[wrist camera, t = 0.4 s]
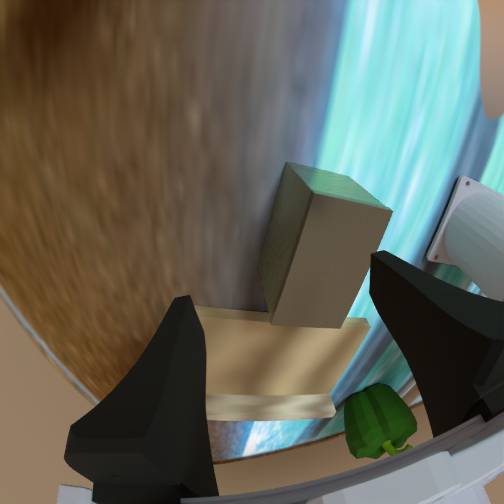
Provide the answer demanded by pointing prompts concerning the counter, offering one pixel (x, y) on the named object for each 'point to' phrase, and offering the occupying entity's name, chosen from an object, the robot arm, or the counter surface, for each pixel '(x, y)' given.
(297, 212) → the tea tin
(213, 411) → the shelf board
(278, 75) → the counter surface
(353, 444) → the bell pepper
